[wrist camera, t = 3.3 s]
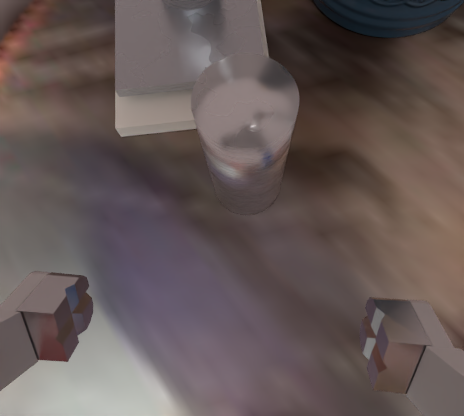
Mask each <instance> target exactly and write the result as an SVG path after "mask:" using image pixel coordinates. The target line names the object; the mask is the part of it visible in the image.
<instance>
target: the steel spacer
mask: <svg viewBox="0 0 464 416" xmlns="http://www.w3.org/2000/svg"><path fill="white" fill-rule="evenodd" d="M298 108H299V91H298V87H297V85H296V82H295V80H294V78H293V77H292V75H291V74H290V73H289V71H288V70H287V69H286V68H285V67H284V66H282V65H281V64H280V63H278V62H277V61H275V60H273V59H271V58H268V57H266V56H262V55H258V54H251V53H242V54H234V55H230V56H227V57H224V58H222V59H219V60H218V61H216V62H214V63H213V64H211V65H210V66H208V67H207V68H206V69H205V70H204V71H203V72H202V73H201V75H200V76H199V78H198V79H197V81H196V83H195V85H194V87H193V90H192V95H191V109H192V113H193V117H194V120H195V124H196V127H197V131H198V134H199V137H200V141H201V144H202V148H203V151H204V155H205V158H206V162H207V165H208V169H209V172H210V175H211V179H212V182H213V186H214V189H215V193H216V196H217V198H218V200H219V201H220V203H221V204H222V205H223V206H224V207H225V208H226V209H228V210H229V211H231V212H233V213H236V214H240V215H254V214H258V213H260V212H263V211H264V210H266V209H267V208H269V207H270V206H271V205H272V204H273V202H274V201H275V200H276V198H277V196H278V193H279V189H280V185H281V181H282V176H283V172H284V168H285V164H286V159H287V155H288V151H289V147H290V143H291V138H292V134H293V130H294V126H295V121H296V117H297V113H298Z"/></svg>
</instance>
